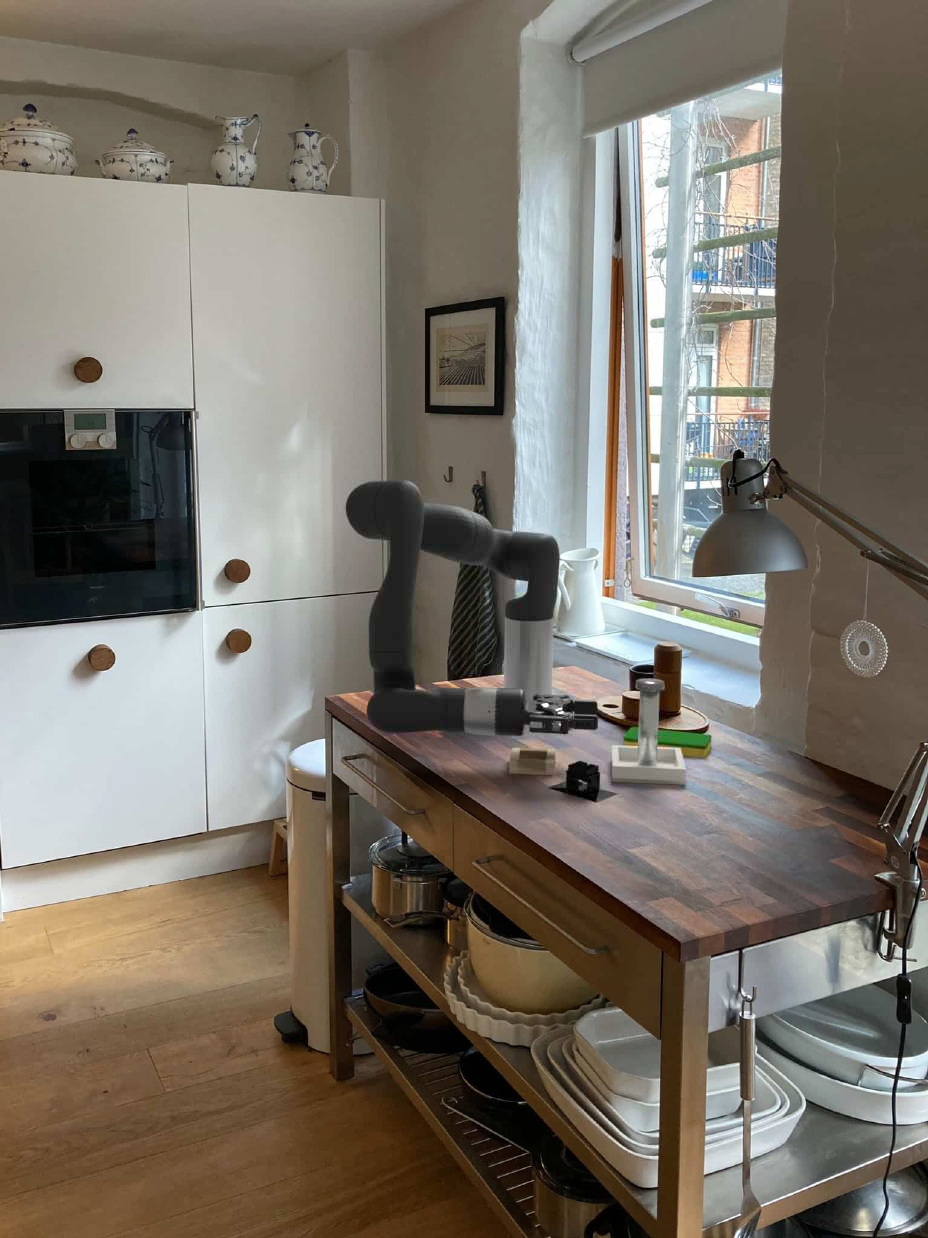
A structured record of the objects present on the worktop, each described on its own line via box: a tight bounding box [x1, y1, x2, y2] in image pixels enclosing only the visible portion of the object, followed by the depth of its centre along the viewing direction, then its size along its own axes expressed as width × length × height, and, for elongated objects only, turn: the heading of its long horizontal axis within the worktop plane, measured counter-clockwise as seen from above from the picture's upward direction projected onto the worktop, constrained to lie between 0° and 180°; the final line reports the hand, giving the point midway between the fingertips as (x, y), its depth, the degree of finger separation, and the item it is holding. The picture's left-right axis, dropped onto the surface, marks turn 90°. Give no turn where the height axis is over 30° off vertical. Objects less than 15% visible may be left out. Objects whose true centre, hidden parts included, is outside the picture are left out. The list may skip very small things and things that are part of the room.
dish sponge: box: [622, 726, 712, 758], centre depth 190 cm, size 7×14×2 cm, turn 70°
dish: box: [610, 744, 687, 786], centre depth 177 cm, size 11×11×2 cm
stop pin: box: [635, 678, 666, 766], centre depth 176 cm, size 4×4×14 cm
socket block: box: [508, 747, 557, 776], centre depth 179 cm, size 7×7×2 cm
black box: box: [547, 760, 619, 804], centre depth 168 cm, size 12×7×5 cm, turn 47°
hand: (597, 715), depth 176 cm, fingers open, 8 cm apart
